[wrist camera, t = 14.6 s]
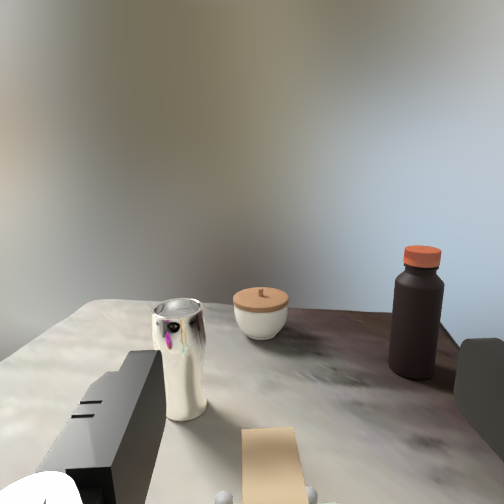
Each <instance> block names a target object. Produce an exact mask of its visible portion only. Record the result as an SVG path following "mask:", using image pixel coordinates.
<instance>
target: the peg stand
mask: <svg viewBox="0 0 504 504" xmlns="http://www.w3.org/2000/svg"><path fill="white" fill-rule="evenodd" d="M305 487H306V492H307V497H308V501H309V504H338V503H337V502H334V503H317V492H316V490H315V489H314V488H313V487H311V486H305ZM215 504H233V497H232V494H231V493H230V492H228V491H220V492H219V493H217V495H216V496H215Z"/></svg>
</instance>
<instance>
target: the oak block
mask: <svg viewBox="0 0 504 504" xmlns="http://www.w3.org/2000/svg"><path fill="white" fill-rule="evenodd" d="M242 502H243V504H309V501H308V497H307V492H306V487H305V482H304V477H303V472H302V468H301V463H300V458H299V453H298V448H297V443H296V439H295V434H294V429H293V427H283V428H261V429H242Z"/></svg>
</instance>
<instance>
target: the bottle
mask: <svg viewBox="0 0 504 504" xmlns="http://www.w3.org/2000/svg"><path fill="white" fill-rule="evenodd" d="M440 258H441V250H440V249H437V248H434V247H429V246H408V247H406V248H405V252H404V266H405V271H404V272H402V273H401V274H400V275H398V276H397V278H396V280H395V288H394V300H393V311H392V323H391V334H390V346H389V358H388V363H389V367H390V368H391V369H392V370H393V371H394V372H395V373H397V374H398V375H400V376H403V377H405V378H409V379H415V380H422V379H426V378H429V377H431V376H432V375H433V372H434V366H435V358H436V349H437V341H438V333H439V325H440V317H441V309H442V301H443V293H444V283H443V281H442V280H441V279H440V278H439V277H438V275H437V274H436V271H437V269H438V268H439V265H440Z"/></svg>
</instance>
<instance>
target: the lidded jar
mask: <svg viewBox="0 0 504 504" xmlns="http://www.w3.org/2000/svg"><path fill="white" fill-rule="evenodd" d="M233 302H234V311H235V317H236V321H237V323H238V325H239V327H240V328H241V330H242V331H243V332H244V333H246V335H247V336H248V337H249V338H251V339H255V340H268V339H271V338H273V337H275V336H276V334H277V333H278V332H279V331H280V330H281V329H282V327H283V326H284V324H285V321H286V318H287V312H288V295H287V294H286V293H285V292H283V291H281V290H278V289H274V288H266V287H257V288H249V289H245V290H242V291H240V292H238V293H236V294H235V295H234V297H233Z"/></svg>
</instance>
